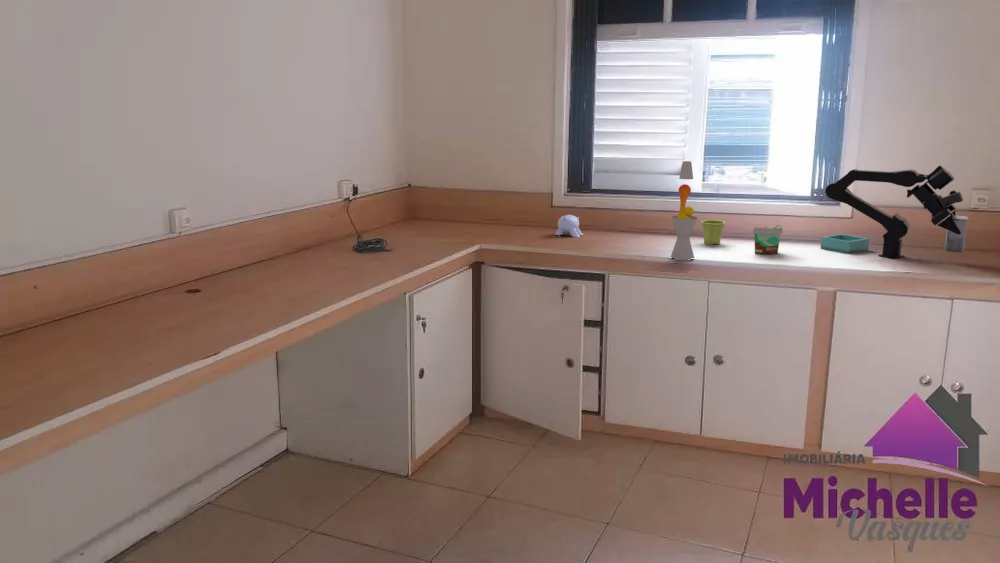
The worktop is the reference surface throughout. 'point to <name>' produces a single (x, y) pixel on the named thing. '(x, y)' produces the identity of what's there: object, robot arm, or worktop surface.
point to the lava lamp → (684, 218)
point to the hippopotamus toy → (569, 226)
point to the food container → (767, 240)
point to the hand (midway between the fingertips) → (960, 232)
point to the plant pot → (712, 231)
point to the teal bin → (844, 243)
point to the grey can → (954, 240)
